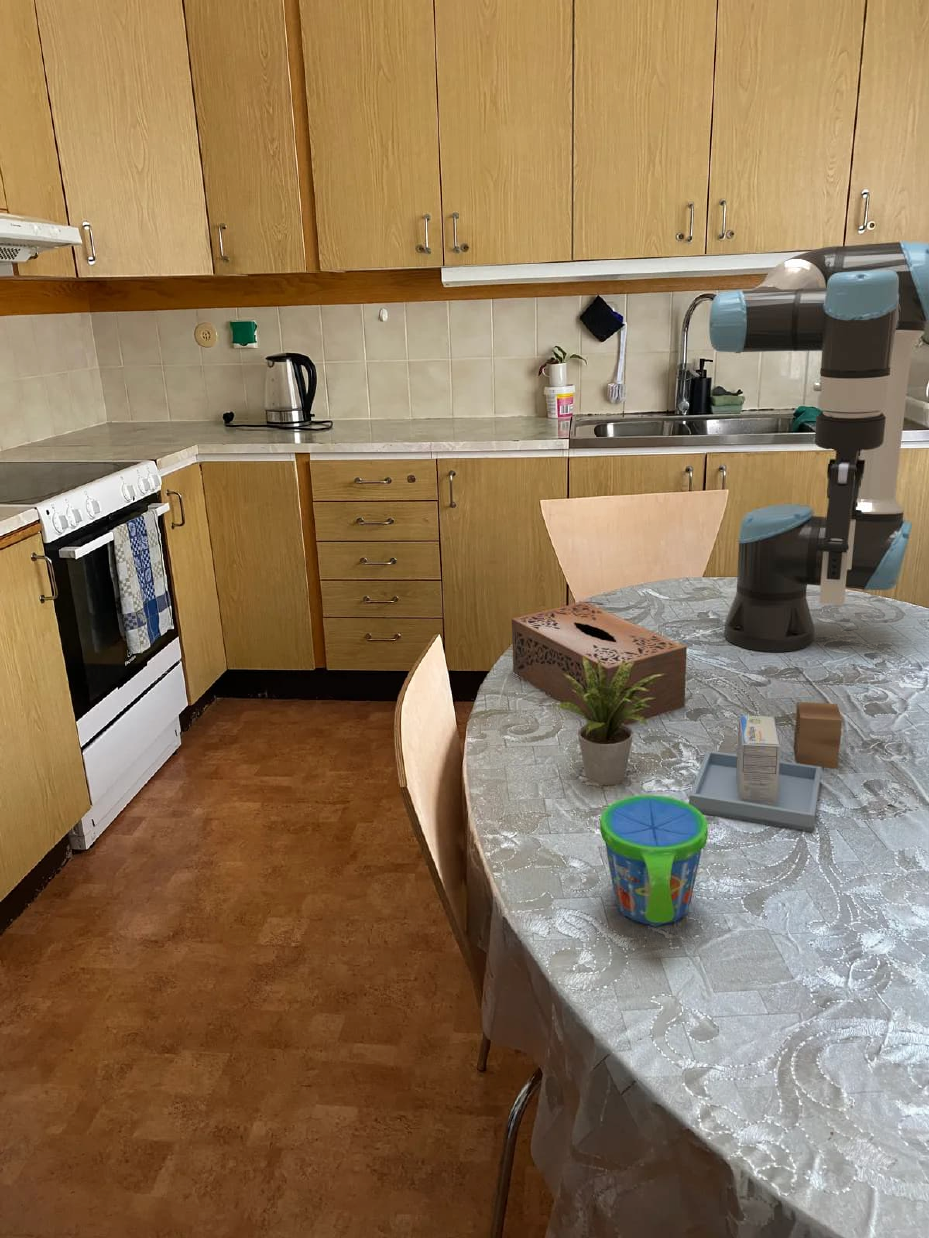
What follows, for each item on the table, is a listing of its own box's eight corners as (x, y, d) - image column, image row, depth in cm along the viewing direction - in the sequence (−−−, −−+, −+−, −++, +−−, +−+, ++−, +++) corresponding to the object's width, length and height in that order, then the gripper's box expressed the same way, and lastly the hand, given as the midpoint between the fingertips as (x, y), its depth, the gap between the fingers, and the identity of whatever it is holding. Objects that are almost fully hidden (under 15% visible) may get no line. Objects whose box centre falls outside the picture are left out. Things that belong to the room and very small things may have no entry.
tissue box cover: (513, 675, 157) (511, 618, 153) (584, 656, 163) (583, 601, 160) (607, 732, 135) (607, 668, 132) (684, 708, 142) (686, 646, 138)
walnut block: (793, 748, 128) (797, 701, 125) (832, 751, 126) (837, 703, 124) (796, 766, 123) (800, 717, 121) (837, 769, 122) (842, 720, 120)
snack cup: (605, 858, 105) (605, 778, 102) (702, 866, 103) (705, 784, 100) (594, 950, 91) (594, 860, 88) (706, 961, 89) (710, 869, 85)
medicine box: (777, 810, 112) (781, 745, 109) (738, 807, 113) (742, 742, 110) (771, 777, 119) (776, 715, 116) (735, 775, 120) (738, 714, 117)
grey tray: (706, 765, 124) (707, 750, 124) (820, 782, 119) (821, 766, 118) (688, 811, 114) (689, 795, 113) (812, 832, 108) (814, 815, 108)
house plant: (651, 816, 113) (654, 692, 108) (541, 799, 118) (538, 680, 112) (669, 761, 126) (673, 647, 120) (569, 748, 130) (567, 639, 125)
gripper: (825, 396, 121) (813, 553, 129) (805, 430, 100) (792, 616, 108) (889, 396, 118) (872, 557, 126) (882, 432, 97) (863, 622, 105)
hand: (835, 585), depth 117 cm, fingers open, 13 cm apart
